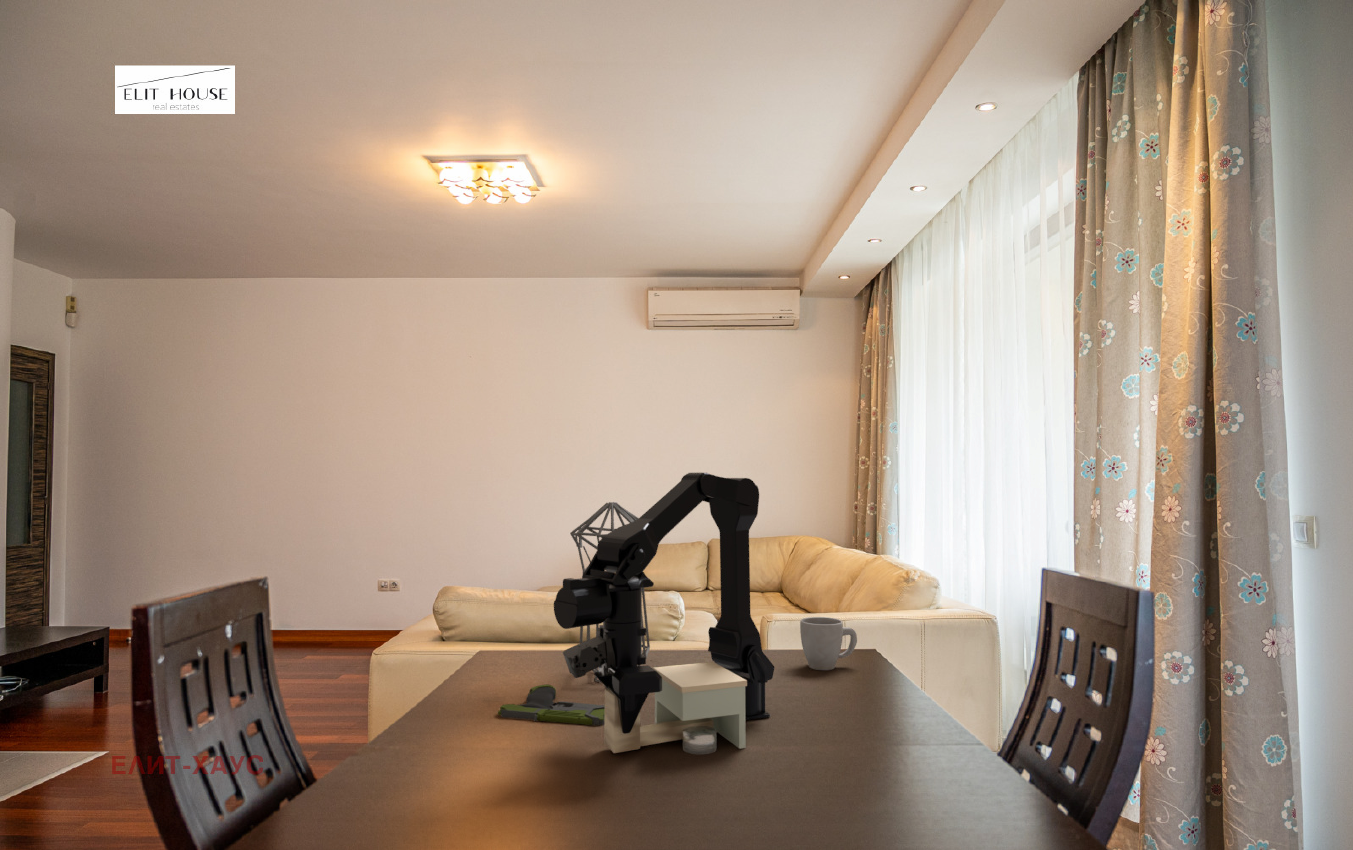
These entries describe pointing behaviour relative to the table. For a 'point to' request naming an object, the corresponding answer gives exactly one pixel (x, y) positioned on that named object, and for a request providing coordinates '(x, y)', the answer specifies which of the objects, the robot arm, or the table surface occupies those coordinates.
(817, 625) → the mug
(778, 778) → the table surface
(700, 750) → the cylinder
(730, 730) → the pale green stool
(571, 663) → the robot arm
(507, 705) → the gun
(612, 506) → the geometric lantern
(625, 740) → the wooden l-shaped block
